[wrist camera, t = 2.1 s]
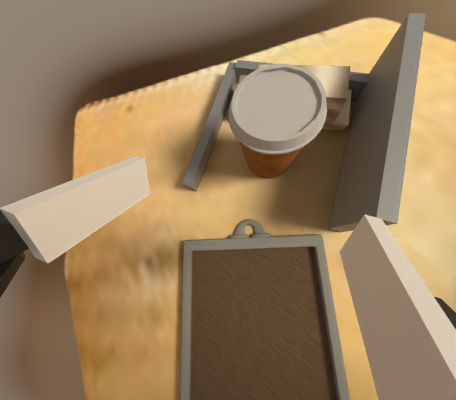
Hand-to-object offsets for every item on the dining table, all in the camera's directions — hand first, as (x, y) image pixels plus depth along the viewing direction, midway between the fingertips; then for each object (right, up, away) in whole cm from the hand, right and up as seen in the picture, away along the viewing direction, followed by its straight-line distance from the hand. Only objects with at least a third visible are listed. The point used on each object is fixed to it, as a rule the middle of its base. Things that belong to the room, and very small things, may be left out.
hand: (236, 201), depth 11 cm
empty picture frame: (+3, -18, +12) cm, 22 cm away
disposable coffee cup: (+6, +6, +17) cm, 19 cm away
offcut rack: (+7, +10, +18) cm, 21 cm away
